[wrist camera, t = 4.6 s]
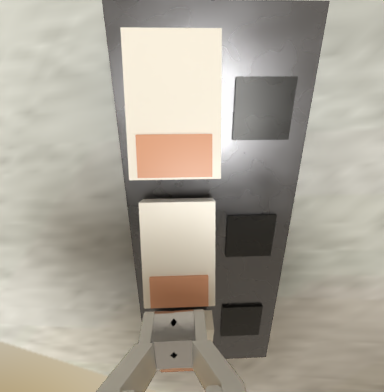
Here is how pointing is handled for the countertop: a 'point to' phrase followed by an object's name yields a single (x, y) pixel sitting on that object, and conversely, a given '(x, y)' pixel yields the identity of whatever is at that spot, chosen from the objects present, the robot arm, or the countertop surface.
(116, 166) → the countertop surface
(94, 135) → the countertop surface
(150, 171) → the rocker
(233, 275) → the power strip
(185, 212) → the rocker middle
